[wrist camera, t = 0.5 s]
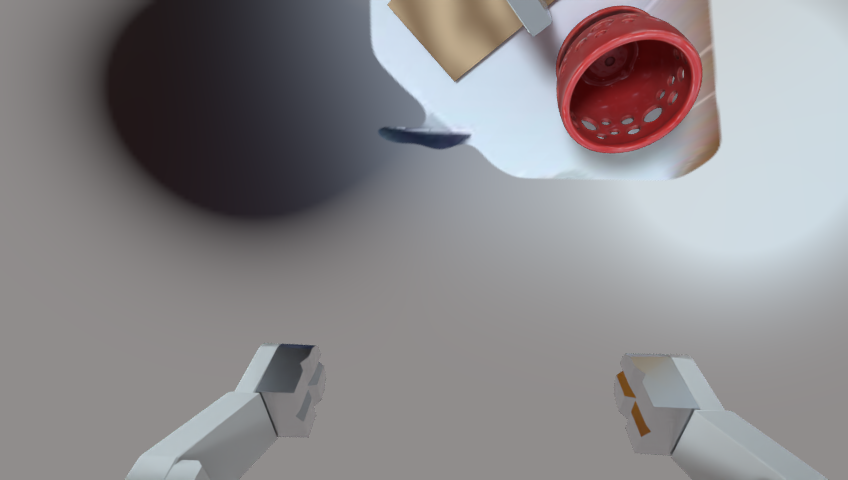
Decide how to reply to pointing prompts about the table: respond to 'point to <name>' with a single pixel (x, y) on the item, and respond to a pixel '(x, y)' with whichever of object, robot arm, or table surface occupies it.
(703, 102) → the table surface
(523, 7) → the tile
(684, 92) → the plant pot
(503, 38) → the cork mat
